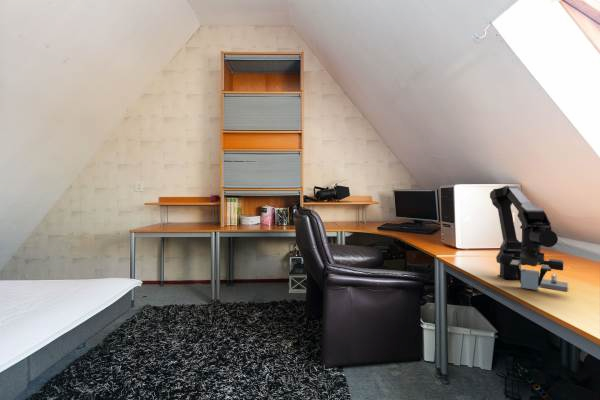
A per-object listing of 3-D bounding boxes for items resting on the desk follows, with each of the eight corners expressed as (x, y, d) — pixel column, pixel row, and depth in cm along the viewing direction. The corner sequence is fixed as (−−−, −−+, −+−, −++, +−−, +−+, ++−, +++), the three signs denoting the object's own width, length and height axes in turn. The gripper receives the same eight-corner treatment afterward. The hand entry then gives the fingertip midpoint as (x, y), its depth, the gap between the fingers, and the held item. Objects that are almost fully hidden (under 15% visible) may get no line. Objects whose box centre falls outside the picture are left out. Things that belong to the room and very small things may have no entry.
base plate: (539, 287, 121) (539, 275, 120) (541, 282, 127) (541, 271, 127) (567, 291, 115) (567, 279, 115) (567, 286, 121) (568, 274, 121)
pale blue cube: (520, 287, 118) (521, 271, 118) (522, 284, 121) (522, 268, 121) (537, 290, 114) (538, 273, 114) (538, 287, 118) (539, 271, 118)
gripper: (497, 242, 117) (496, 284, 118) (563, 248, 105) (561, 295, 106) (502, 238, 126) (501, 278, 126) (564, 244, 114) (562, 287, 114)
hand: (529, 284), depth 118 cm, fingers closed on pale blue cube, 5 cm apart
